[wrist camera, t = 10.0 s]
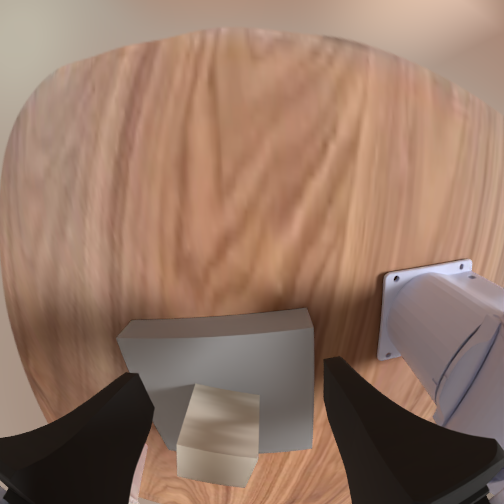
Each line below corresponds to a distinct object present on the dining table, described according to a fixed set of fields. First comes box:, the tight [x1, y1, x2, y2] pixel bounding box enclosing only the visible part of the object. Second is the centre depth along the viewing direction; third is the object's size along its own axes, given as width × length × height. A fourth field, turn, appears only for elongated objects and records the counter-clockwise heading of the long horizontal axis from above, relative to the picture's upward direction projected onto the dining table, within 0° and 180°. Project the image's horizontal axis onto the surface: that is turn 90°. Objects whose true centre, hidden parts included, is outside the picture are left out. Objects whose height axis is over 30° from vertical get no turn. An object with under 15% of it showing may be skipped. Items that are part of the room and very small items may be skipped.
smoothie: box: [129, 443, 148, 504], centre depth 18 cm, size 6×6×14 cm
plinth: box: [116, 308, 314, 454], centre depth 20 cm, size 14×14×3 cm
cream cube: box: [176, 383, 260, 488], centre depth 16 cm, size 5×5×6 cm
